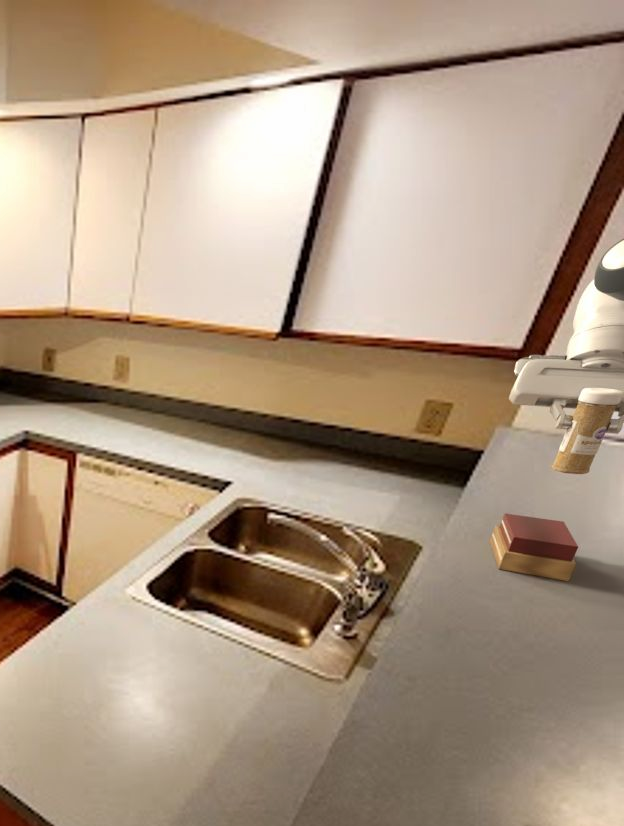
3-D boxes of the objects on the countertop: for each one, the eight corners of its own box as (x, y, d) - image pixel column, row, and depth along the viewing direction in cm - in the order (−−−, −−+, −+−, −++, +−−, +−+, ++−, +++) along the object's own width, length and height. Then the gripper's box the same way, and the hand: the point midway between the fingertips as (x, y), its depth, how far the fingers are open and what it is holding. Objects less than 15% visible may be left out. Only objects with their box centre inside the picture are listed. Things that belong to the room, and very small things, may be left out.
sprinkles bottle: (579, 477, 101) (615, 394, 95) (544, 469, 104) (576, 389, 99) (594, 472, 102) (630, 390, 96) (559, 464, 106) (592, 385, 100)
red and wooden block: (553, 550, 103) (566, 520, 100) (568, 581, 94) (583, 548, 92) (489, 540, 107) (500, 511, 105) (497, 568, 98) (510, 537, 96)
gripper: (523, 343, 106) (506, 412, 103) (706, 348, 94) (693, 426, 91) (512, 365, 111) (496, 431, 108) (684, 373, 99) (671, 447, 96)
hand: (587, 429), depth 100 cm, fingers closed on sprinkles bottle, 4 cm apart
